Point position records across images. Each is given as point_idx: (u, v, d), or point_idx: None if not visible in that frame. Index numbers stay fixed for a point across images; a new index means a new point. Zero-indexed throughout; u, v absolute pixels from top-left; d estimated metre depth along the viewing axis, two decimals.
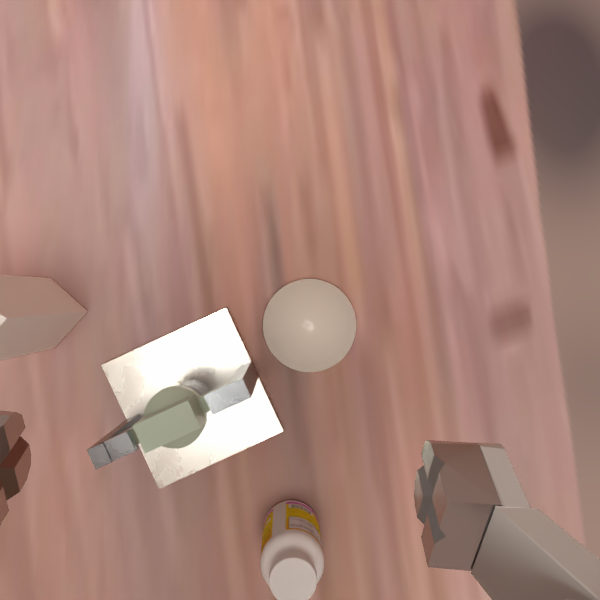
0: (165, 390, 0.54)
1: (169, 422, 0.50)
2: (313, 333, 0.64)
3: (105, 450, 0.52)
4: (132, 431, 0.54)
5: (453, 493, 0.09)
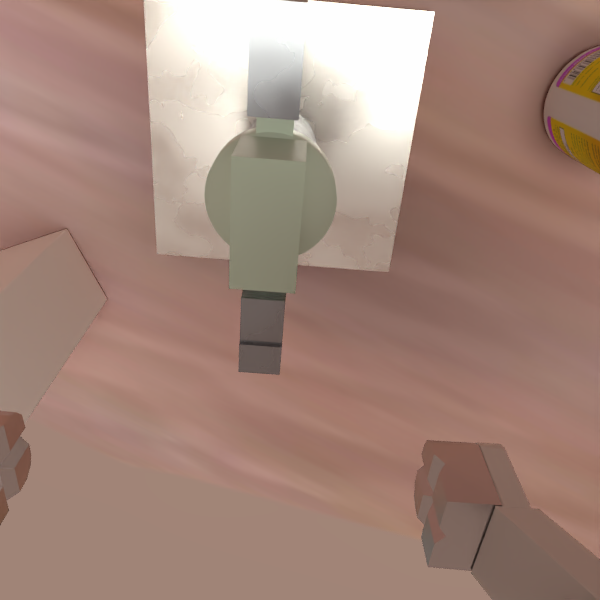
0: (207, 187, 0.25)
1: (259, 219, 0.22)
2: None
3: (256, 345, 0.26)
4: None
5: (453, 493, 0.09)
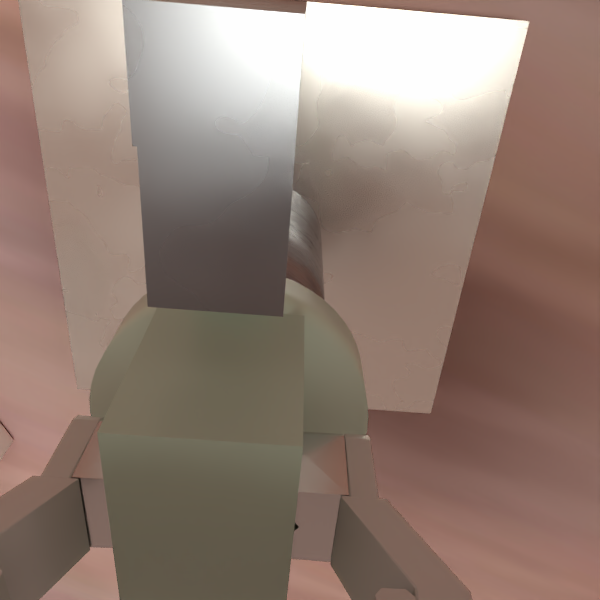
0: (95, 399, 0.12)
1: (187, 553, 0.09)
2: None
3: None
4: None
5: (302, 483, 0.09)
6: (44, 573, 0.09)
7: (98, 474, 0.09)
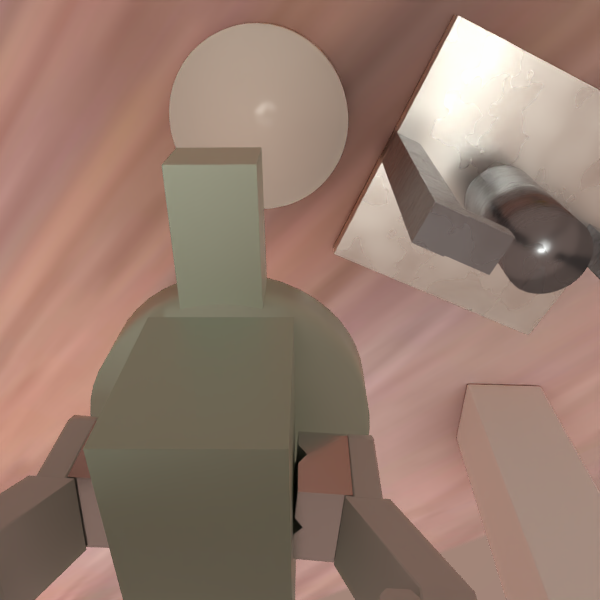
0: (96, 415, 0.12)
1: (186, 563, 0.09)
2: (264, 107, 0.33)
3: None
4: None
5: (306, 484, 0.09)
6: (40, 573, 0.09)
7: None
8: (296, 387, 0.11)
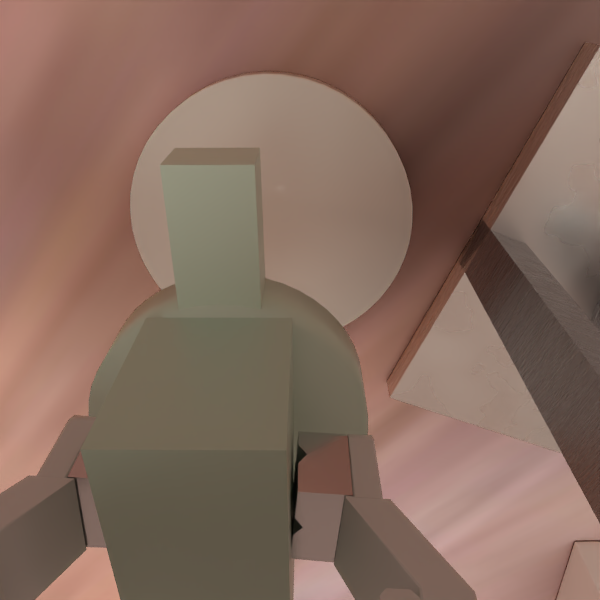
0: (94, 415, 0.12)
1: (184, 564, 0.09)
2: (280, 201, 0.21)
3: None
4: None
5: (306, 483, 0.09)
6: (40, 573, 0.09)
7: None
8: (295, 388, 0.11)
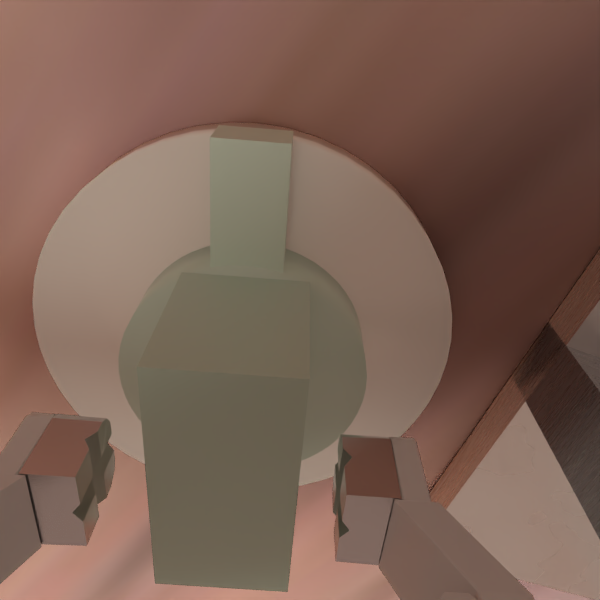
0: (123, 359, 0.13)
1: (209, 479, 0.10)
2: None
3: None
4: None
5: (354, 487, 0.09)
6: None
7: (45, 471, 0.09)
8: None
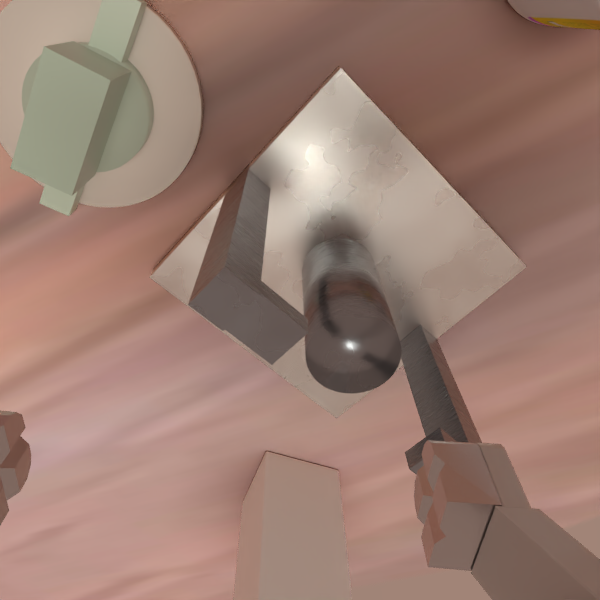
0: (28, 75, 0.26)
1: (55, 115, 0.23)
2: None
3: None
4: None
5: (453, 493, 0.09)
6: None
7: None
8: (120, 104, 0.27)
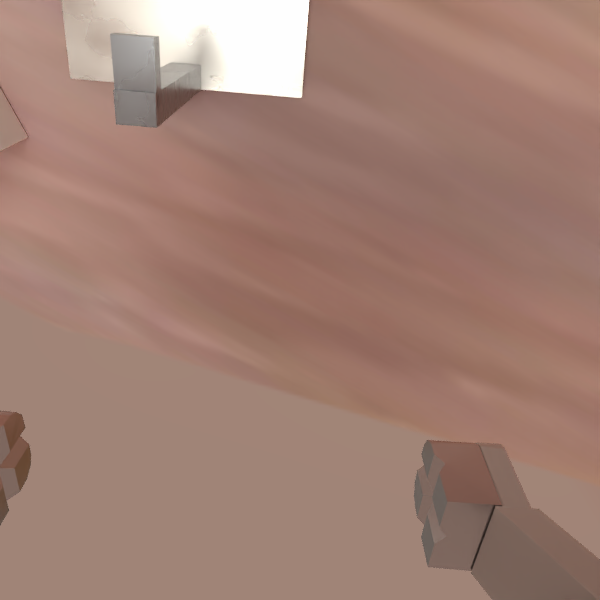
0: None
1: None
2: None
3: (130, 92, 0.26)
4: None
5: (453, 493, 0.09)
6: None
7: None
8: None
